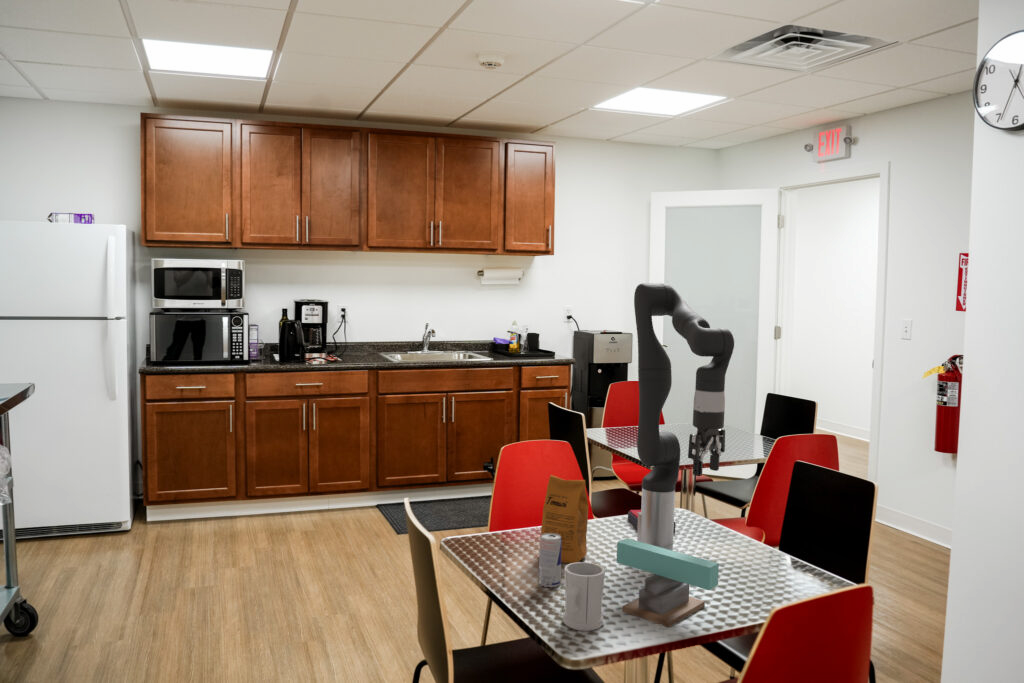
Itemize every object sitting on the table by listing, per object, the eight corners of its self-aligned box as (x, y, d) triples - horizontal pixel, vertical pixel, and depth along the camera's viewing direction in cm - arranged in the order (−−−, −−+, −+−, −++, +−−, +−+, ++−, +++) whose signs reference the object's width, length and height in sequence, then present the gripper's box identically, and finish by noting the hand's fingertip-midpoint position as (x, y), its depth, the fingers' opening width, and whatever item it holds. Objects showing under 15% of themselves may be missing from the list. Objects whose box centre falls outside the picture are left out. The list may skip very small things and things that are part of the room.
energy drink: (563, 581, 191) (564, 534, 190) (557, 589, 186) (558, 540, 185) (542, 578, 193) (543, 531, 192) (536, 586, 188) (537, 538, 187)
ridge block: (622, 611, 174) (623, 575, 173) (659, 592, 186) (660, 558, 185) (668, 627, 166) (670, 590, 165) (704, 606, 178) (705, 571, 177)
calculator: (660, 508, 248) (675, 519, 233) (660, 522, 248) (675, 534, 233) (627, 508, 247) (640, 520, 232) (627, 522, 247) (640, 534, 232)
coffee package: (552, 547, 217) (554, 470, 216) (591, 556, 210) (594, 477, 209) (534, 557, 209) (536, 477, 207) (574, 567, 202) (577, 484, 201)
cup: (608, 635, 162) (610, 579, 161) (565, 635, 161) (567, 579, 160) (599, 614, 172) (600, 561, 171) (558, 614, 171) (560, 561, 171)
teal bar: (616, 562, 182) (617, 541, 182) (626, 558, 185) (626, 538, 185) (709, 590, 166) (710, 567, 166) (717, 585, 169) (718, 563, 169)
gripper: (709, 404, 198) (706, 466, 200) (680, 409, 188) (677, 474, 189) (736, 407, 193) (733, 471, 194) (708, 413, 183) (705, 480, 184)
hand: (705, 472), depth 192 cm, fingers open, 8 cm apart
